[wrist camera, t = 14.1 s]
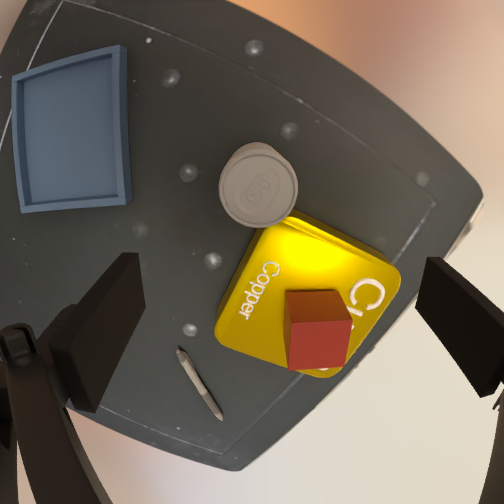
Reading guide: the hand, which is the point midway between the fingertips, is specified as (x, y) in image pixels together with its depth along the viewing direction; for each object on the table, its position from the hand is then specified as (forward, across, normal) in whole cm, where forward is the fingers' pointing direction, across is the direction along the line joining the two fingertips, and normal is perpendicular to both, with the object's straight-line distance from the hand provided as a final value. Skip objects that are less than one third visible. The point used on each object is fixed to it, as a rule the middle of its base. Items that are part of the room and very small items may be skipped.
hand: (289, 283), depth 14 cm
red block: (+13, +4, -10) cm, 17 cm away
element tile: (+18, +4, -10) cm, 21 cm away
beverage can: (+18, -1, +3) cm, 19 cm away
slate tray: (+18, -20, +7) cm, 28 cm away
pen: (+18, -8, -24) cm, 32 cm away
